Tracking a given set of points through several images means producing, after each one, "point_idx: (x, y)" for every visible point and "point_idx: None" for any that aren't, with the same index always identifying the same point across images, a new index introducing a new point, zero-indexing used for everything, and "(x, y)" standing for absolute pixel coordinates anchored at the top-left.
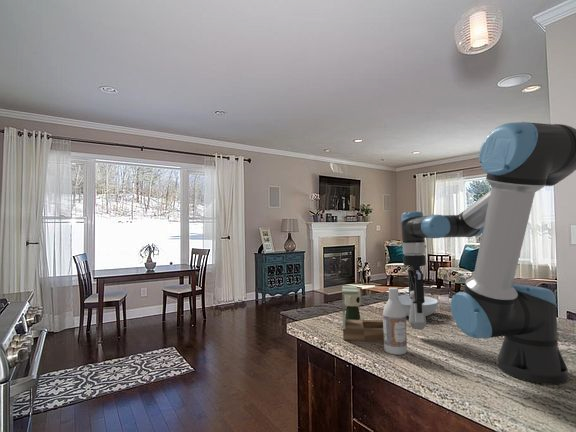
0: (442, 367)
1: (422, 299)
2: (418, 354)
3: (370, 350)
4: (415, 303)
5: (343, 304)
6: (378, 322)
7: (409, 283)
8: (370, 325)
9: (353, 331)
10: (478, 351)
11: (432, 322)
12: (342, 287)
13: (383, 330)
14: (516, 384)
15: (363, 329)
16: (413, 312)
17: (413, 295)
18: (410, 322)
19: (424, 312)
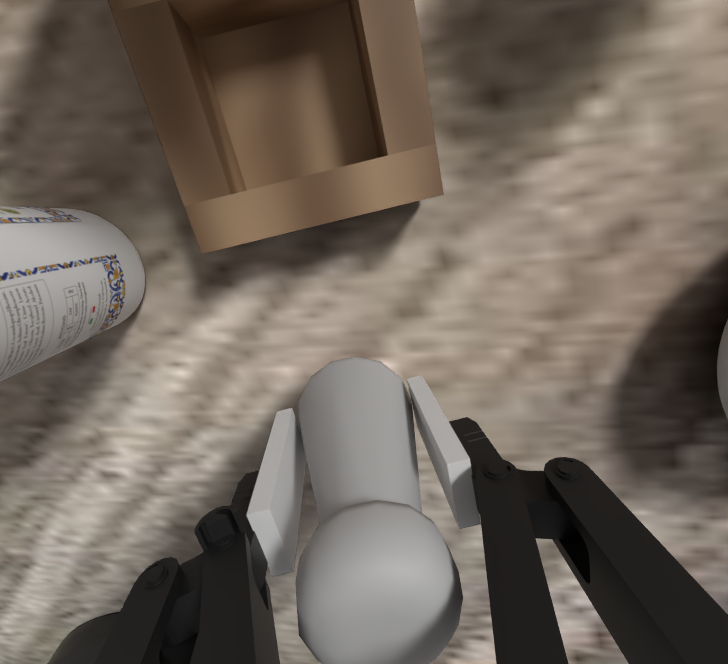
0: (12, 463)
1: (163, 644)
2: (108, 376)
3: (15, 125)
4: (249, 519)
5: None
6: (381, 117)
7: (674, 650)
8: (363, 52)
9: None
10: (268, 570)
11: (646, 422)
12: None
13: (176, 185)
14: (15, 633)
15: (110, 6)
16: (313, 431)
17: (301, 570)
18: (322, 369)
19: (725, 411)
